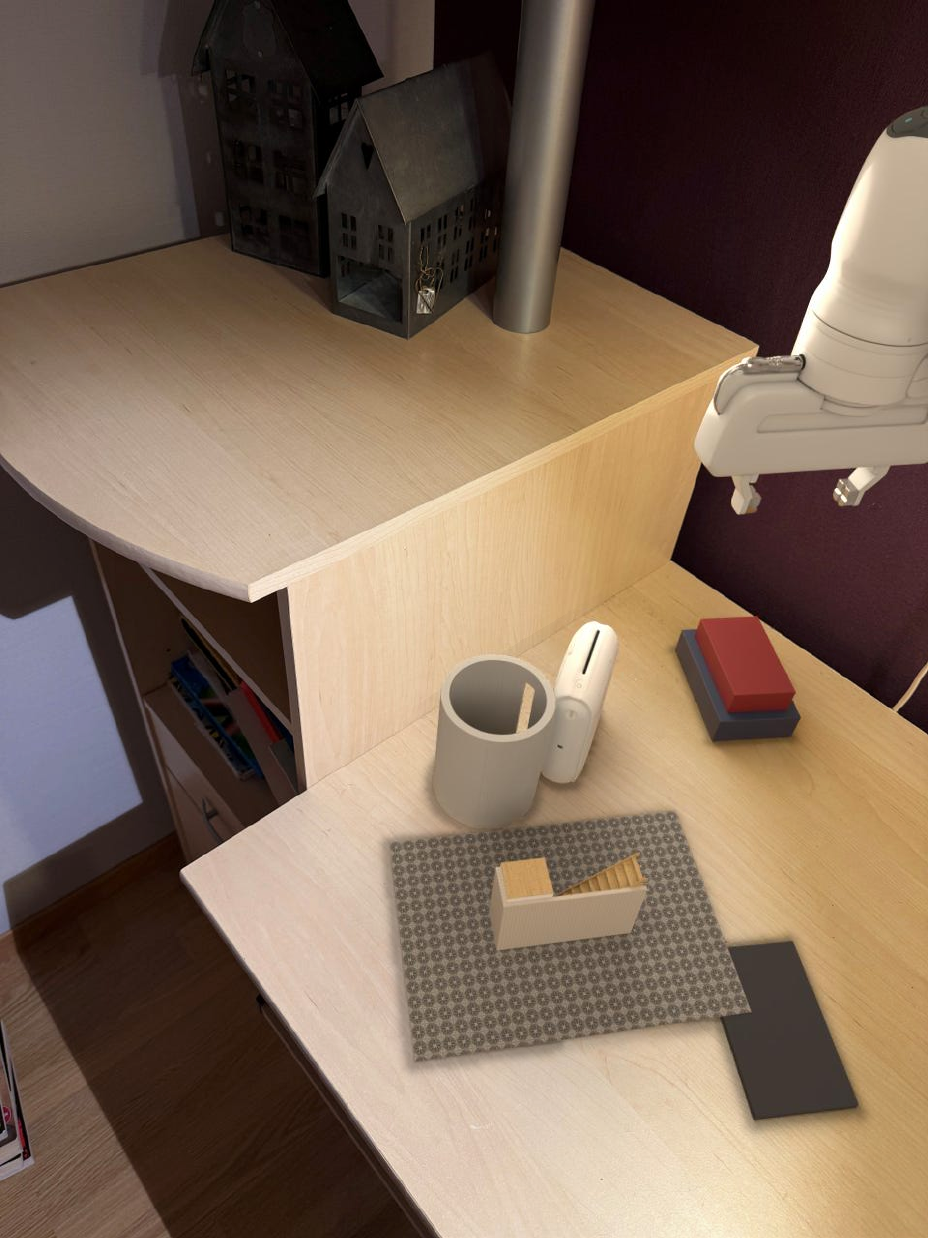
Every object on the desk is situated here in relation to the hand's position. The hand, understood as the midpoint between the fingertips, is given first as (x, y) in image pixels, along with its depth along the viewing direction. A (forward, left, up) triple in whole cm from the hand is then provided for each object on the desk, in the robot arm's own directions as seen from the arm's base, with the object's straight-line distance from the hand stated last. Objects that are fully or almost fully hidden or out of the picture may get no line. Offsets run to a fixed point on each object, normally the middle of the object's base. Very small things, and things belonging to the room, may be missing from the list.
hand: (793, 505), depth 76 cm
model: (+22, +24, -22) cm, 39 cm away
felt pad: (+7, +33, -22) cm, 41 cm away
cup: (+26, +10, -22) cm, 36 cm away
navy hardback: (-1, +1, -22) cm, 22 cm away
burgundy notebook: (-1, +1, -19) cm, 19 cm away
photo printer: (+17, +6, -22) cm, 29 cm away
